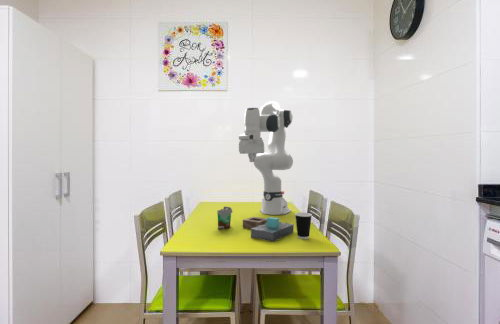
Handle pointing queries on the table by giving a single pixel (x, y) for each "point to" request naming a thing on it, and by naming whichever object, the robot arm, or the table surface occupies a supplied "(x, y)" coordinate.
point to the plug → (273, 222)
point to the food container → (224, 218)
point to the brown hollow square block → (253, 222)
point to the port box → (272, 231)
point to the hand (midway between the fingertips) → (252, 162)
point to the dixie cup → (303, 224)
